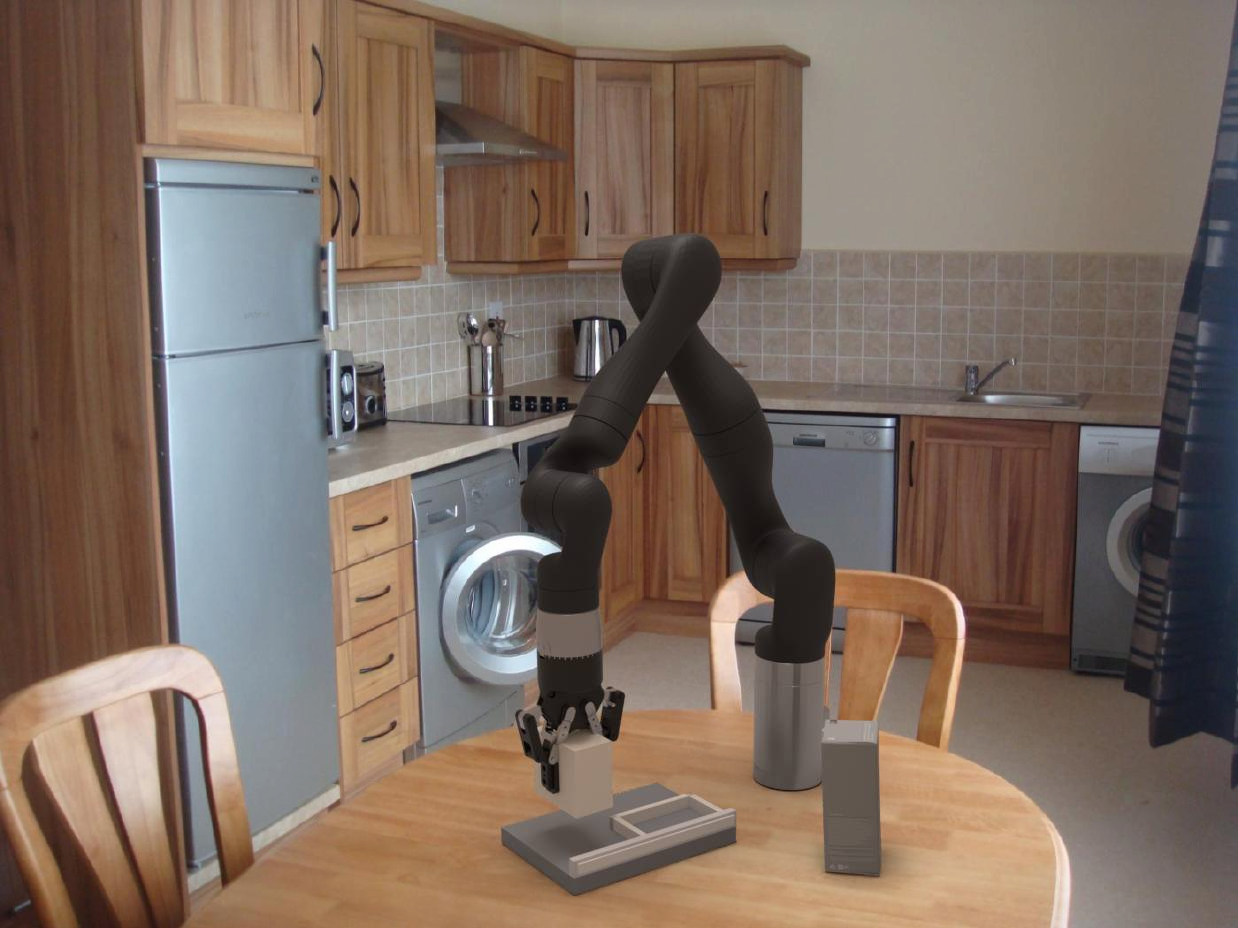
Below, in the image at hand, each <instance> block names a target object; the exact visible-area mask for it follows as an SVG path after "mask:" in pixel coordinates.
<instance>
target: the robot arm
mask: <svg viewBox="0 0 1238 928" xmlns="http://www.w3.org/2000/svg"><path fill="white" fill-rule="evenodd" d="M620 267H621V269H620V271H621V272H620V275H621V283H622V286H623V287H622V288H623V291H624V293H625V295H626V297H627V301H628V303H629V304H630V306H631V308H632V310H633V312H634V313H633V314H635V316H636V318H637V320H638V321H639V323H638V325H637V327H636V328H635V329H634V331H632V332H631V334H630V336H628V338H627V339H626V340H625V341H624V342H623V344H622V345H621V346H620V347H618V349H616V351H615V352H614V353H613V354H612V355H611V356H610V357H609V358H608V360H606V361H605V363H604V364H603V365H602V366H601V367H600V368H599V370H598V371H597V372H596V373H595V375H593V378H592V379H591V381H589V383H588V385H587V386H586V389H585V390H584V392H583V394H582V396H581V399H580V401H579V402H578V405H577V407H576V409H575V410H574V413H573V414H572V417H571V419H570V422H569V423H568V426H567V428H566V429H565V431H564V432H563V433H561V435H560V436H559V437H558V438H557V439H556V440H555V441H554V443H553V444H552V445H551V446H550V447H549V448H548V450H547V451H546V452H545V453H544V454H543V456H542V457H541V458H540V459H539V461H537V463H536V464H535V465H534V467H533V468H532V469H531V471H530V472H529V474H528V476H527V477H526V479H525V481H524V483H523V486H522V489H521V492H520V493H521V494H520V500H519V501H520V505H519V506H520V511H521V514H522V516H523V519H524V520H525V522H526V523H527V524H528V525H529V526H530V527H532V528H534V529H536V530H539V531H543V532H547V533H548V532H549V533H554V534H559V535H563V544H562V547H561V550H560V551H556V552H552V553H548V554H546V555H544V556H543V557H541V558H540V559H539V561H538V563H537V567H536V592H537V593H536V594H537V598H536V599H537V610H536V611H537V612H536V613H537V614H536V622H535V636H536V637H535V640H536V641H535V642H536V667H537V668H536V673H537V675H536V677H537V685H538V689H539V695H538V699H537V701H536V705H535V706H532V707H530V708H528V709H526V710H523V709H522V708H521V709H518V710H516V711H515V715H514V717H515V721H516V725H517V730H518V734H519V738H520V741H521V745H522V749H523V753H524V756H525V757H527V758H530V760H533V762H534V761H536V762H537V763H541V783H542V785H543V787H545V788H546V790H547V791H549V792H551V793H552V794H556V793H559V791H560V786H559V763H558V762H557V760H558V757H559V745H560V744H562V743H565V742H566V739H567V735H568V733H571V732H573V731H575V730H583V729H585V730H586V731H588V732H590V733H592V734H594V735H595V734H599V735H601V736H603V737H605V738H607V739H609V740H611V741H612V743H613V742H617V740H618V739H619V736H620V735H619V734H620V731H621V730H620V729H621V722H622V717H623V710H624V705H625V699H626V694H625V692H623V691H622V690H620V689H618V688H615V687H613V686H607V687H606V688H603V686H602V683H603V681H604V658H603V657H604V655H603V654H604V653H603V652H604V650H603V624H602V623H603V622H602V615H601V609H600V578H599V571H600V567H601V564H602V559H603V556H604V551H605V546H606V542H607V537H608V534H609V529H610V528H611V527H610V526H611V522H612V517H613V502H612V498H611V493H610V491H609V489H608V487H607V485H606V484H605V483H604V481H603V480H602V479H600V478H599V477H598V476H595V475H592V474H591V472H592V471H595V470H597V469H601V468H607V467H612V466H614V465H615V464H617V463H618V462H619V460H621V457H622V456H623V455H624V452H625V450H626V448H627V446H628V444H629V442H630V440H631V437H632V436H633V433H634V431H635V429H636V427H637V425H638V422H639V420H640V417H641V416H642V413H643V412H644V410H645V408H646V406H647V403H648V402H649V400H650V397H651V396H652V394H653V392H654V390H655V388H656V387H657V385H658V383H659V382H660V380H661V378H662V377H663V375H664V374H665V373H666V375H667V378H668V380H669V383H670V384H671V387H672V389H673V391H674V393H675V395H676V398H677V400H678V402H679V404H680V406H681V409H682V412H683V414H684V416H685V419H686V421H687V424H688V427H689V430H690V432H691V434H692V436H693V439H694V441H695V444H696V446H697V449H698V450H699V453H700V455H701V458H702V460H703V462H704V464H705V466H706V469H707V471H708V473H709V475H710V478H711V480H712V483H713V485H714V488H715V490H716V493H717V495H718V496H719V500H720V501H721V503H722V505H723V508H724V510H725V513H726V515H727V518H728V520H729V525H730V527H731V531H732V534H733V538H734V541H735V545H736V547H737V551H738V554H739V555H738V556H739V558H740V561H741V565H742V567H743V571H744V573H745V576H746V578H747V580H748V582H749V583H750V584H751V586H752V587H753V588H754V589H755V590H756V591H757V592H758V593H760V594H761V595H762V596H765V597H767V598H770V599H772V600H773V607H772V608H773V609H772V619H771V620H772V621H771V624H766V625H764V626H762V627H760V628H759V629H758V630H757V631H756V633H755V636H754V665H753V666H754V668H753V669H754V670H753V671H754V673H753V675H754V681H753V682H754V683H753V684H754V685H753V688H754V689H753V748H752V749H753V760H752V762H753V763H752V764H753V765H752V766H753V767H752V769H753V770H752V777H753V779H754V780H755V781H756V782H757V783H759V784H761V785H763V786H764V787H768V788H772V789H776V790H784V791H799V790H801V791H802V790H806V789H810V788H813V787H815V786H818V785H820V784H821V783H822V745H821V741H822V735H823V732H822V729H823V728H824V725H825V720H831V719H830V717H831V715H830V713H831V712H830V708H829V707H828V706H827V705H825V693H826V692H825V687H826V686H825V685H826V683H825V682H826V646H827V643H828V640H829V638H830V635H831V632H832V630H833V628H832V627H833V621H834V608H835V597H836V596H835V595H836V565H835V561H834V557H833V554H832V552H831V550H830V549H829V548H828V546H827V545H826V544H825V543H823V542H822V541H820V540H819V539H815V538H813V537H810V536H807V535H804V534H802V533H798V532H795V531H794V530H793V529H792V528H791V527H790V525H789V523H788V521H787V519H786V517H785V515H784V514H783V511H782V509H781V507H780V504H779V502H778V500H777V499H778V498H776V494H775V491H774V487H773V486H774V485H773V466H774V442H773V437H772V433H771V429H770V427H769V424H768V421H767V419H766V416H765V414H764V410H763V408H762V405H761V404H760V402H759V399H758V397H757V394H756V393H755V392H754V390H753V388H752V386H751V385H750V383H749V382H748V381H747V380H746V379H745V378H744V377H743V375H742V374H741V373H740V372H739V371H738V370H737V369H736V368H735V367H734V366H733V365H732V364H731V363H730V362H729V361H728V360H727V359H726V358H725V357H724V356H723V355H722V354H721V353H720V352H719V351H718V350H717V349H716V348H715V346H713V345H712V343H711V342H709V340H708V339H707V338H706V336H705V334H704V333H703V331H702V330H701V328H700V326H699V324H698V323H699V321H700V320H701V318H702V317H703V316H704V315H705V313H706V311H707V310H708V308H709V307H710V305H711V303H712V302H713V300H714V298H715V297H716V295H717V293H718V290H719V288H720V285H721V282H722V277H723V265H722V259H721V256H720V253H719V251H718V249H717V248H716V245H715V243H713V242H712V241H711V240H710V239H709V238H708V237H706V236H704V235H702V234H699V233H695V232H694V233H693V232H690V233H689V232H687V233H686V232H685V233H675V234H671V235H670V234H669V235H664V236H658V237H652V238H648V239H646V238H645V239H643V240H638V241H636V242H634V243H633V244H631V245H630V246H629V247H628V248H627V250H626V251H625V252H624V254H623V258H622V261H621V266H620ZM601 705H602V708H601V713H600V719H599V717H598V714H597V713H598V711H599V709H600V707H601ZM541 717H543V719H544V720H543V724H542V725H543V727H542V731H541V737H542V740H540V736H539V732H538V728H537V727H539V726H541V723H540V719H541ZM553 729H554V730H556V731H557V733H556V734H555V733H554V731H553ZM550 742H551V745H550Z"/></svg>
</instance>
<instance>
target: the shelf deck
mask: <svg viewBox="0 0 1238 928" xmlns="http://www.w3.org/2000/svg"><path fill="white" fill-rule="evenodd" d="M500 831H501V833H500V834H501V839H500V840H501V844H502V845H504V846H505V847H506V848H508V849H509V850H511V851H512V852H513V853H515V854H516V855H517V856H519V857H520V858H522V859H523V860H524V861H526V862H527V863H529V864H530V865H532V866H533V867H534V868H536V870H538V871H539V872H541V873H542V874H544V875H545V876H547V877H548V878H549V879H551V880H552V881H553V882H554V883H556V884H557V885H559V886H560V887H562V888H563V889H564V890H566V891H567V892H568V893H570V894H571V895H572V896H574V897H575V896H577V895H580V894H584V893H586V892H590V891H592V890H596V889H598V888H602V887H604V886H605V887H606V886H608V885H611V884H613V883H616V882H620V881H622V880H623V881H624V880H625V879H629V878H632V877H635V876H638V875H641V874H644V873H647V872H651V871H654V870H656V869H659V868H662V867H665V866H668V865H671V864H674V863H677V862H680V861H683V860H685V859H689V858H692V857H695V856H699V855H701V854H704V853H707V852H710V851H714V850H716V849H719V848H722V847H725V846H728V845H732V844H734V843H737V810H736V809H734V808H733V807H729V808H726V809H722V808H721V807H719V806H716V805H715V804H713V803H711V802H709V801H708V800H705V799H703V798H702V797H700V796H699V795H696V794H694V793H693V792H687V793H683V794H678V793H677V792H675V791H673V790H671V789H669V788H668V787H666V786H664V785H663V784H660V783H659V782H658V781H657V782H653V783H649V784H647V785H643V786H639V787H637V788H636V787H635V788H633V789H632V788H631V789H629V790H626V791H622V792H619V793H615V794H613V807H612V808H609V809H606V810H603V811H600V812H596V813H593V814H590V815H587V816H584V817H581V818H577V819H576V818H574V817H573V816H571V815H570V814H568V813H567V812H565V811H563V810H562V809H558V810H555V811H553V812H549V813H546V814H543V815H539V816H535V817H532V818H529V819H525V820H521V821H518V822H515V823H510V824H508V825H505V826H501V829H500Z"/></svg>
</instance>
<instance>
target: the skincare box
mask: <svg viewBox="0 0 1238 928" xmlns="http://www.w3.org/2000/svg"><path fill="white" fill-rule="evenodd" d="M879 726H880V725H879V721H878V720H855V719H854V720H852V719H851V720H849V719H829V720H825V725H824V728H823V729H822V732H823V735H822V741H821V745H822V781H821V786H822V787H821V788H822V789H821V791H822V825H823V827H822V828H823V846H824V847H823V852H824V870H825V872H829V873H830V872H831V873H846V874H859V875H868V876H877V877H879V876H880V875H881V867H882V834H881V833H882V831H881V829H882V827H881V799H880V798H881V797H880V794H881V793H880V728H879Z"/></svg>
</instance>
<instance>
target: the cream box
mask: <svg viewBox="0 0 1238 928" xmlns="http://www.w3.org/2000/svg"><path fill="white" fill-rule="evenodd" d="M542 727H543V724H542V725H540V726H539V727H537V728H538V732H539V736H540V740H542V737H541V731H542ZM553 731H554V733H555V734H556V733H557V731H556V730H554V729H553ZM612 743H613V741H611V740H609V739H607V738H605V737H603V736H601V735H599V734H595V735H594V734H592V733H590V732H588V731H586V730H585V729H583V730H575V731H573V732H571V733H568V735H567V739H566V742H565V743H562V744H560V745H559V757H558V760H557V762H558V763H559V786H560V791H559V793H556V794H552V793H551V792H549V791H547V790H546V788H545V787H543V785H542V783H541V763H537V762H536V761H534V760H533V782H534V784H533V788H534V793H535V794H536V795H538V796H540V797H541V798H543V799H544V800H546V801H548V802H549V803H551V804H552V805H553V806H555V807H557V808H559V810H563V811H565V812H567V813H568V814H570V815H571V816H573V817H574V818H576V819H577V818H581V817H584V816H587V815H590V814H593V813H596V812H600V811H603V810H606V809H609V808H612V807H613V795H614V792H613V790H614V789H613V785H614V784H613V749H612V747H613V744H612ZM550 745H551V742H550Z"/></svg>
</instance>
